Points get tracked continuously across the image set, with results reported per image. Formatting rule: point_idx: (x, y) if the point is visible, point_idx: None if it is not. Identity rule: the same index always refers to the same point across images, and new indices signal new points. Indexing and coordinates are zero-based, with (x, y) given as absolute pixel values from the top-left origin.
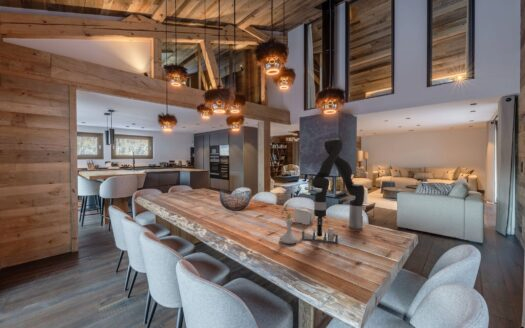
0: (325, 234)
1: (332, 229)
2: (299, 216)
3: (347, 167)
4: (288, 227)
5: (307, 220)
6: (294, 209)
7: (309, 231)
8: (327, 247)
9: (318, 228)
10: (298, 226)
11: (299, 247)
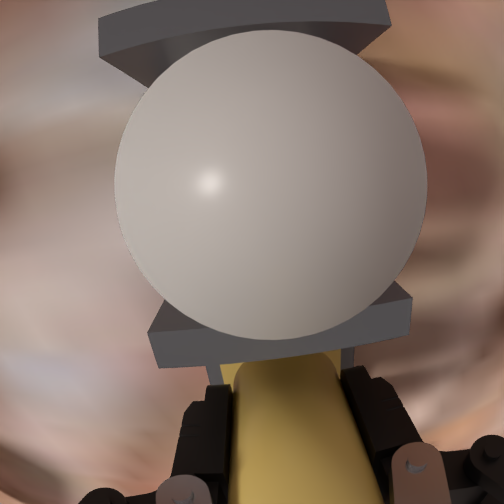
0: (403, 305)
1: (378, 105)
2: None
3: None
4: None
5: None
6: None
7: (56, 441)
8: (496, 200)
9: (484, 496)
10: (31, 485)
11: (496, 417)
